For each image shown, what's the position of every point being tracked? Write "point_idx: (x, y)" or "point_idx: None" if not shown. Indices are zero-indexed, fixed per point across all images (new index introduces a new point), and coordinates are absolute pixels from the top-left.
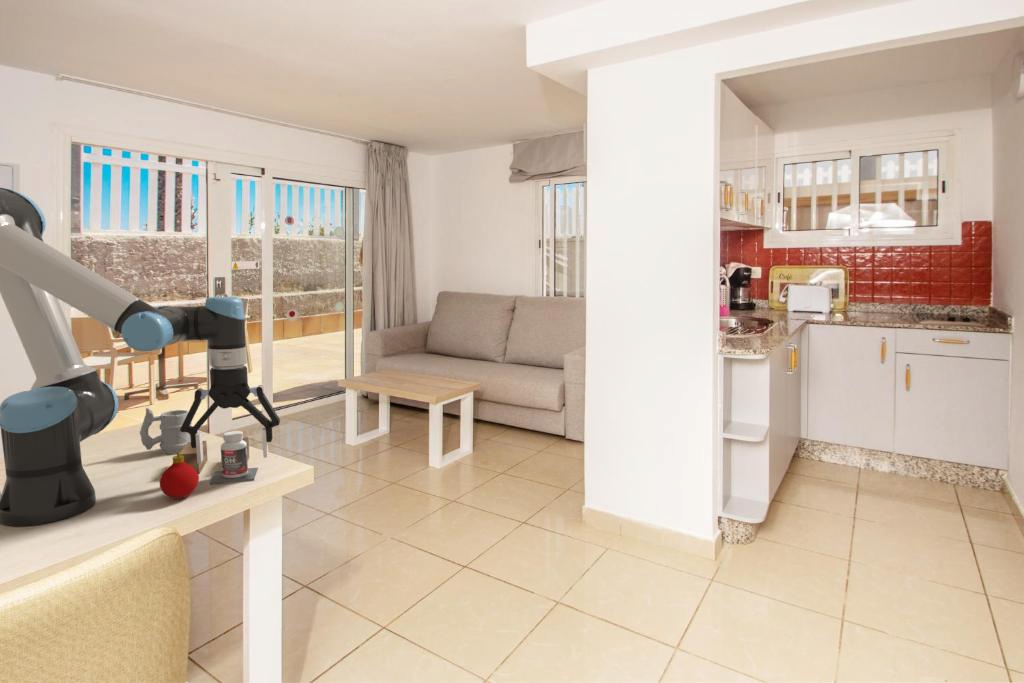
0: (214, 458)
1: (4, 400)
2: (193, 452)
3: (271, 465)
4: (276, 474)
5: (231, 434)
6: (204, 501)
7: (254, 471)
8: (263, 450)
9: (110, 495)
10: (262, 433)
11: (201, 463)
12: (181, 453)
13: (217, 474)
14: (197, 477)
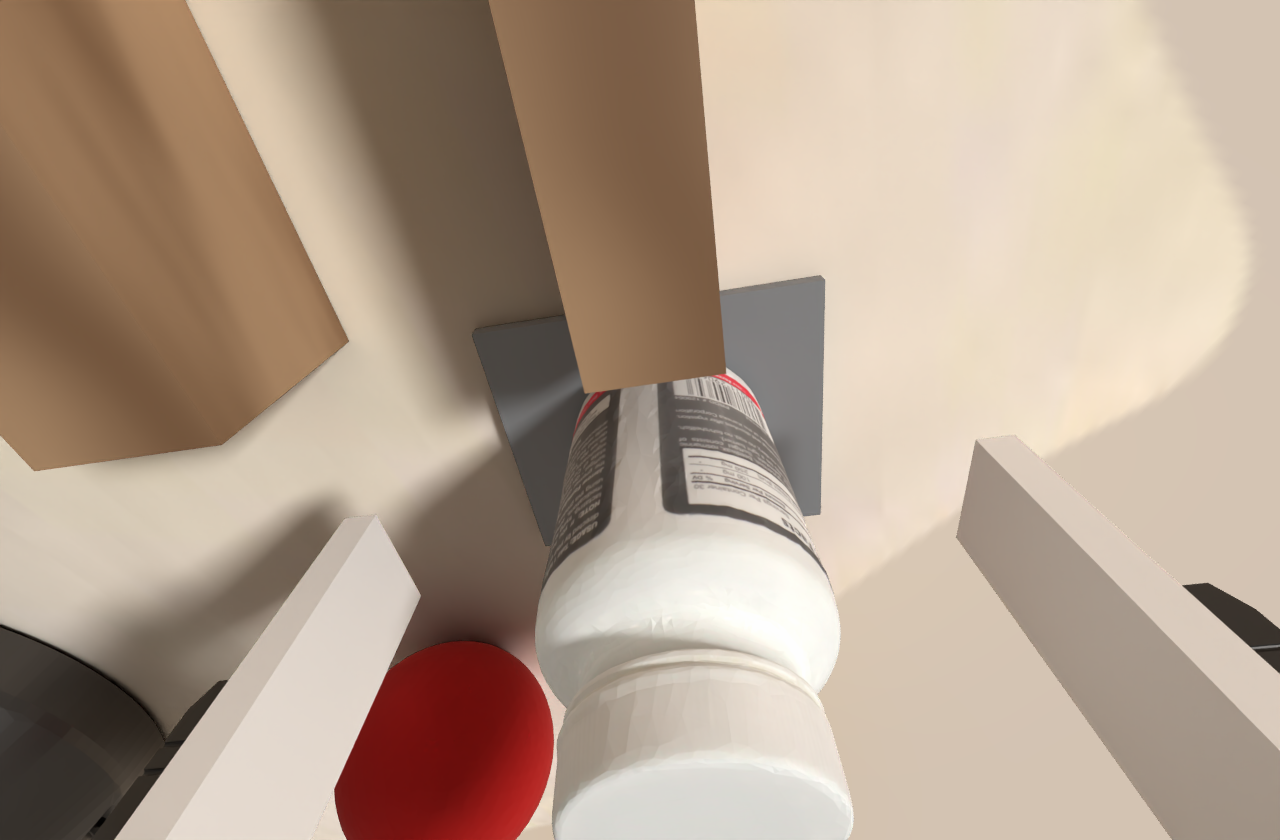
0: None
1: None
2: (146, 418)
3: (948, 170)
4: (973, 417)
5: None
6: None
7: (807, 380)
8: (1002, 596)
9: (79, 610)
10: (1171, 838)
11: (253, 240)
12: (30, 440)
13: (525, 412)
14: (548, 765)
